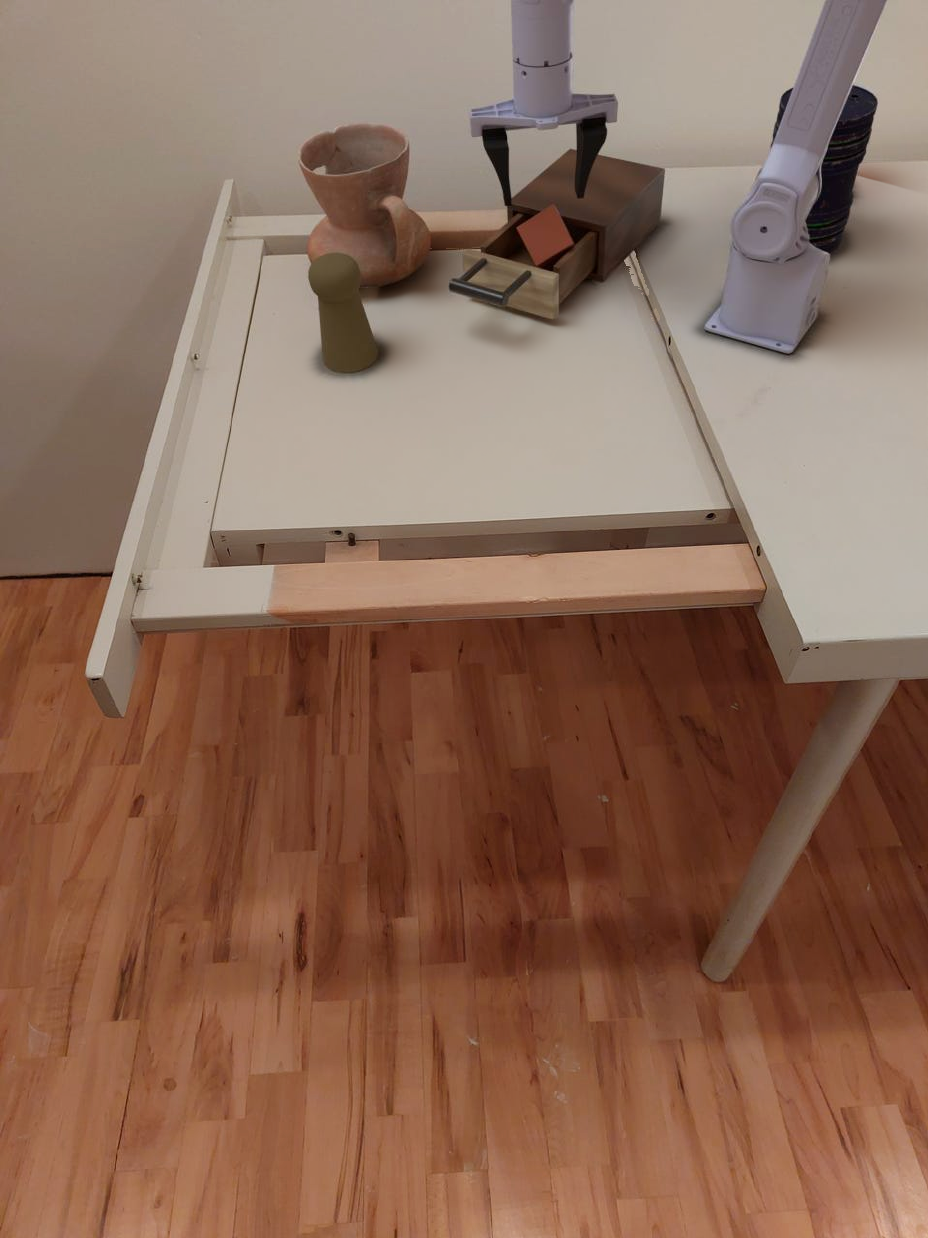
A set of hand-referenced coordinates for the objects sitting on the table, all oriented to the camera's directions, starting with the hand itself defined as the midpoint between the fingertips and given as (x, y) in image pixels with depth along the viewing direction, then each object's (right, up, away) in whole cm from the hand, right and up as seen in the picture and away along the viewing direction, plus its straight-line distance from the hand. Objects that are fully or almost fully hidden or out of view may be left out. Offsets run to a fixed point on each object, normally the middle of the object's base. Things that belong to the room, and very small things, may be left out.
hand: (543, 197), depth 96 cm
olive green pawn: (-21, -17, +1) cm, 26 cm away
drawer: (-2, -8, +5) cm, 10 cm away
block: (+1, -3, +4) cm, 5 cm away
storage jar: (+30, 0, +9) cm, 32 cm away
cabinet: (+6, +1, +12) cm, 14 cm away
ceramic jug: (-19, -3, +12) cm, 23 cm away
